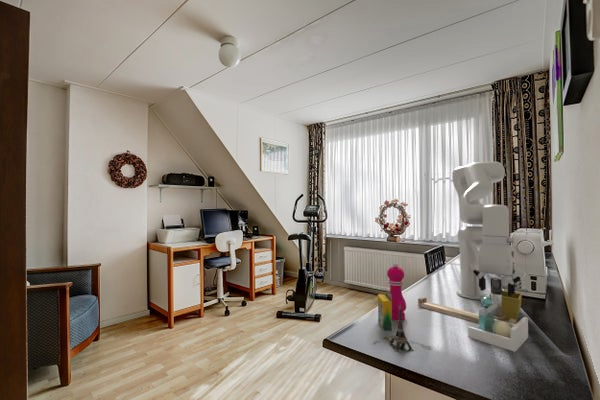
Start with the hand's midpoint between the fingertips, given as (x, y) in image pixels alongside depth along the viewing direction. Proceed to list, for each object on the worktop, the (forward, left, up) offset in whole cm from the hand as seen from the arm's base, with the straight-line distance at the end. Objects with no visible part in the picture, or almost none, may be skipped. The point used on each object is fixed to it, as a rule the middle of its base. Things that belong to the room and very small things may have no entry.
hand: (496, 292), depth 97 cm
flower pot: (-10, 0, -12) cm, 15 cm away
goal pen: (+10, +3, -11) cm, 15 cm away
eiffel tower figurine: (+38, -13, -12) cm, 42 cm away
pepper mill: (+20, -26, -12) cm, 35 cm away
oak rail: (0, -11, -11) cm, 16 cm away
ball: (+10, +4, -9) cm, 14 cm away
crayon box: (+30, -24, -12) cm, 40 cm away
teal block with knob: (+6, 0, -11) cm, 12 cm away
